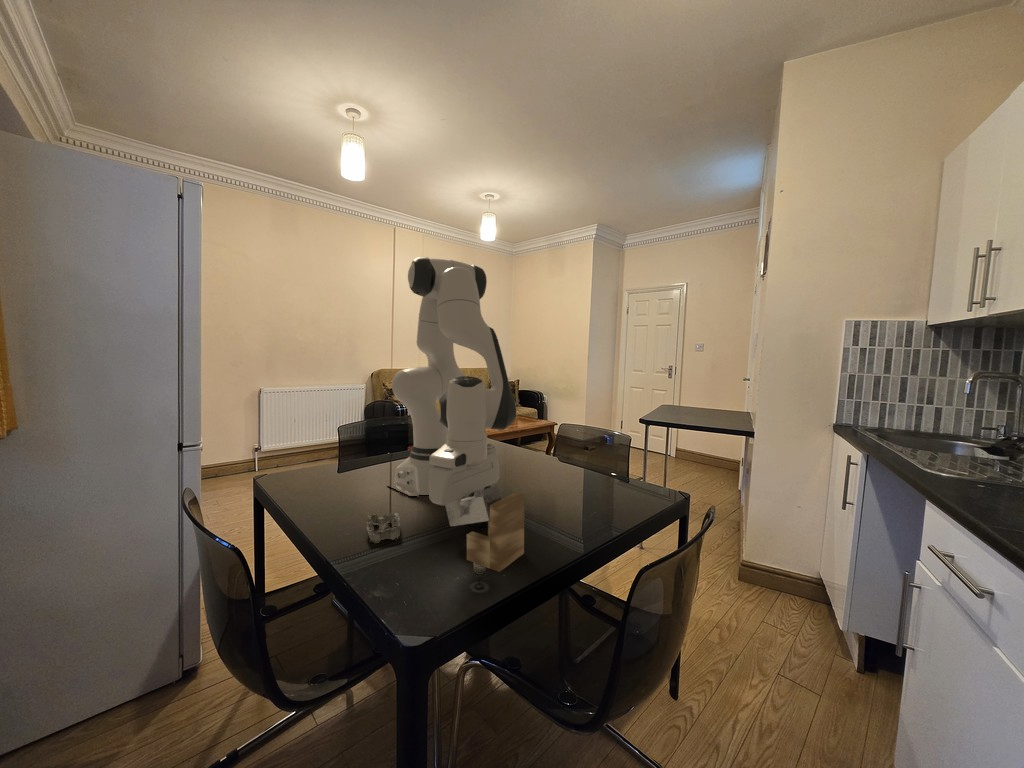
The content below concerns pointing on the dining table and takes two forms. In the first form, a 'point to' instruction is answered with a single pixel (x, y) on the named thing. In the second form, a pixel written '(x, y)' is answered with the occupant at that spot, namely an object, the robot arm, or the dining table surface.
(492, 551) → the wooden step block
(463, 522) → the light grey rectangular block
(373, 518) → the egg carton
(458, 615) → the dining table surface
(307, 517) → the dining table surface
